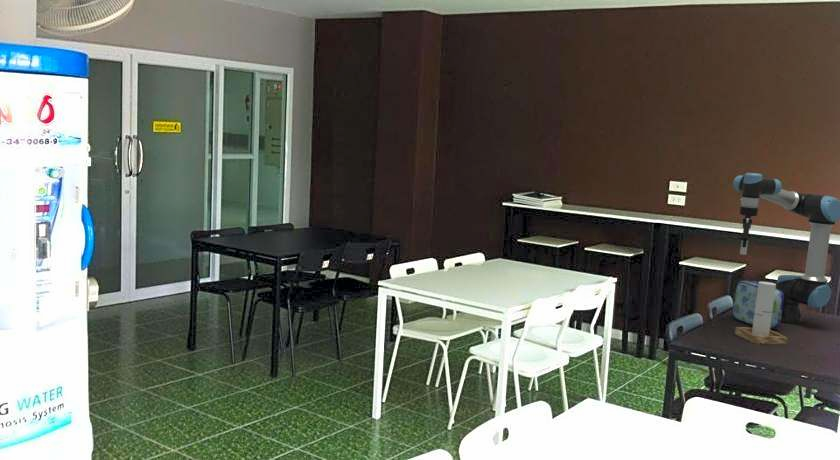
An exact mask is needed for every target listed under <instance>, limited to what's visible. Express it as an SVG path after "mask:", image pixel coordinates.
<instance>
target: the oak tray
mask: <svg viewBox="0 0 840 460" xmlns="http://www.w3.org/2000/svg"><path fill="white" fill-rule="evenodd" d="M752 328H753V327H749V326H747V327H746V326H744V327H743V326H735V328H734V334H735V336H738V337H740V338H742V339H743V340H746V341H747V340H748V342H749V343H751V344H760V343H761V344H762V345H766V344H767V345H779V346H780V345H782V346H783V345H784V346H786V345H788V344H787V343H788V337H787V336H785V335H782V334H781V333H779V332H777V331H774V330H773V329H770V332H769V336H758V335H753V334H752Z"/></svg>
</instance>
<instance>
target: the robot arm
mask: <svg viewBox="0 0 840 460" xmlns="http://www.w3.org/2000/svg"><path fill="white" fill-rule="evenodd" d="M732 183H733V184H732V185H733V188H734V190H735V191H737V192H738V191H739V192H741V193H742V194H741V198H740V199H739V201H741V202H740V205H741V206H740V209H739V215H741V216H744V218H743V219H742V228H743V229H742V230H743V231H742V237H740V238H739V239H740V240H741V241H740V242H741V243H740V248H739V249H740V250H739V255H746V256H747V250H748V245H749V244H748V243H749V238H751V235H750V229H751V227H752V223H753V219H751V218H752V217H757V216H758V211H759V209H758V207H759V205H760V198H761V199H763V200H765V201H768V202H771V203H774V204H776V205H779V206H782V207H783V209H784V210H787V211H789V212H792V213H794V214H796V215H798V216H802V217H804V218H807V219H808V221H807V222H808V223H809V225H810V226H811V227H810V232H809V242H808V250H807V257H806V264H805V272H804V274H803V275H795V274H780V275H778V277H777V281H776V283H775V284H776V288H777V289H779V290H781V291H782V292H783V294H784V301H783V308H782V316H781V322H780V323H788V324H800V323H801V322H802V315H801V309H800V304H802V305H806V306H809V307H814V308H822V307H824V306H826V304H828V303H829V300H830V299H831V296H832V290H831V289H832V288H831V287H830V286H829V285H828V280H827V278H826V277H825V275H826V274H825V273H826V267H827V266H826V265H827V260H828V259H827V258H828V251H829V244H830V237H831V230H832V228H833V227H834V226H835V225H836V222H838V221H839V220H840V200H839V199H838V198H836V197H835V196H829V195H821V194H814V193H804V192H803V193H801V192H797V191H793V190H790V191H789V190H786V189H783V188H782V182H781V181H780V180H779V179H777V178H766V177H763V174H761V173H753V172H746V173H745V174H744V175H737V176H736V177H735V178H734V179H733V182H732Z"/></svg>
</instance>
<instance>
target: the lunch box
mask: <svg viewBox="0 0 840 460" xmlns="http://www.w3.org/2000/svg"><path fill="white" fill-rule="evenodd" d="M759 282H760V281H756V280H740V281H739V282H737V285H736V287H735V291H734V296H733V303H732V315H733V317H734V319H736V320H738V321H740V322H743V323H746V324H747V325H750V326H753V321H754V313H755V306H756V299H757V291H758V284H759ZM783 301H784V294H783V292H782V291H781V290H779V289H777V288H775V295H774V303H773V310H772V317H771V325H770V330H777V329H778V327H779V325H780V324H781V323H782V322H781V316H782V308H783Z"/></svg>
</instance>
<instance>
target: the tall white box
mask: <svg viewBox="0 0 840 460" xmlns="http://www.w3.org/2000/svg"><path fill="white" fill-rule="evenodd" d="M758 282H759V284H758V291H757V299H756V306H755V313H754V321H753V325H752V327H751V328H752V334H753V335H758V336H769V332H770V330H771V329H770V325H771V317H772V310H773V303H774V295H775V288H776V284H777V283H774V282H770V281H758Z"/></svg>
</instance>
